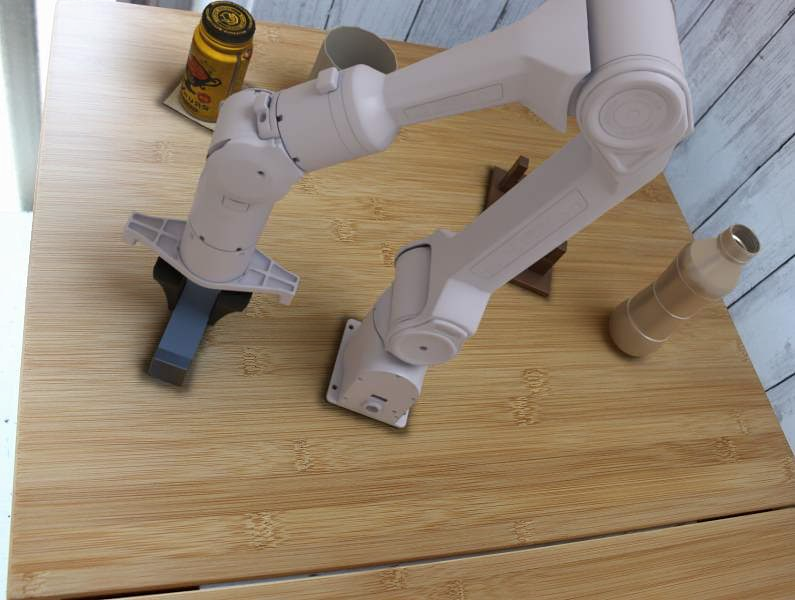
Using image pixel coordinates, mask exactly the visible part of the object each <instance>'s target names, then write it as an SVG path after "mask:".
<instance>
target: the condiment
mask: <svg viewBox="0 0 795 600" xmlns="http://www.w3.org/2000/svg"><path fill="white" fill-rule="evenodd" d="M198 22H199V23H198V24H197V25H196V26H195V28H194V31H193V34H192V35H193V36H192V39H191V43H190V45H189V46H190V47H189V51H188V56H187V61H186V63H185V64H186V65H185V67H184V72H183V77H182V80H181V81H180V83H179V84H178V85H177V86H176V87H175V89H174V90H173V91H172V92H171V93H170V94H169V95H168V97H167V98H166V99H165V100H164V101H163V102H162V103H163V104H164V105H167V106H168V107H170V108H172V109H173V110H175V111H177V112H178V113H180V114H181V115H183V116H185V117H187V118H188V119H190V120H192V121H194V122H196V123H198V124H200V125H202V126H203V127H205V128H207V129H209V130H212V131H214V129H215V125H216V122H217V119H218V115H219V104H220V102H221V101H225V100H226V99H227V98H228V97H229V96H231V95H233V94H235V93H237V92H240V91H242V90H245V89H250V88H251V87H249V86H248V85H245V84H244V82H245V78H246V75H247V72H248V69H249V65H250V62H251V59H252V56H253V54H254V53H253V52H254V42H253V41H254V35H255V33H256V30H257V27H256V20H255V19H254V17H253V15H252V14H251V13H250V11H249V10H247V9H246V8H245V7H243V6H242V5H240V4H238V3H236V2H233V1H229V0H214V1H211V2H209V3H208V4H207V5H205V7H204V8H203V10H202V13H201V18H200V20H199V21H198Z"/></svg>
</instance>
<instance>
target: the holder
mask: <svg viewBox="0 0 795 600" xmlns="http://www.w3.org/2000/svg"><path fill="white" fill-rule="evenodd" d="M529 163H530V158H529V157H526V156H524V155H522V154H521V155H519V157H517V159H516V160H515V162H514V163H513V164H512V166H511V168H509V169H508V170H505V169H503V168H502V167H498V166H497V165H494V166H493V168H492V170H491V177H490V182H489V188H488V193H487V200H486V205H485V210H486V209H488V208H489V207H490V206H491V205H492V204H494V203H495V202H496V201H497V200H498V199H500V198H501V197H502V196H503V195H504V194H506V193H507V192H508V191H509V190H511V189H512V188H513V187H514V186H515V185H517V184H518V183H519V182H520V181H521V180H523V179H524V178H525V177H526V176H527V175H528V174H526V171H528V169H529ZM567 250H568V240H566V241H565V242H563V243H562V244H560V245H559V246H558V247H556V248H555V249H553V250H552V251H551V252H549V253H548V254H546V255H545V256H543V257H542V258H541V259H539V260H538V261H536V262H535V263H534V264H532V265H531V266H529V267H528V268H527V269H525V270H524V271H522V272H521V273H519V274H518V275H517V276H515V277H514V278H512V279H511V280H510V281H508V282H509V283H511V284H514V285H516V286H518V287H520V288H523V289H525V290H528V291H531V292H533V293H534V294H538V295H539V296H542V297H545V298H547V297H548V296H549V295H550V294H551V285H552V274H553V266H555V264H556V263H557V262H558V261H559V260H560V259H561V258H562V257H563V256H564V255H565V254H566V253H567Z"/></svg>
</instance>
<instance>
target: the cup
mask: <svg viewBox="0 0 795 600" xmlns="http://www.w3.org/2000/svg"><path fill="white" fill-rule="evenodd" d="M358 64H364V65H367V66H369V67H371V68H373V69H375V70H377V71H379V72H381V73H384V74H386V75H387V74H389V73H392V72H394V71H397V70H399V67H398V66H399V64H398V58H397V54H396V53H395V51H394V50H393V49H392V47H391V46H390V44H389V43H388V42H386V41H385V40H384V39H383V38H382V37H380V36H378V34H376V33H375V32H372V31H370V30H367V29H366V28H362V27H360V26H353V25H340V26H337V27H335V28H332V29H329V31H328V33H327V34H326V35H325V37H324V39H323V41H322V44H321V46H320V49H319V51H318V54H317V56H316V59H315V61H314V64H313V66H312V69H311V71H310V72H309V73H310V74H309V76H308V78H307V80H306V82H308V81H311V80H314V79H317V77H318V73H319V72H320V71H322V70H325V69H328V68H331V67H335V68H336V69H337V70H338V71H340V70H343V69H346V68H349V67H352V66H355V65H358Z"/></svg>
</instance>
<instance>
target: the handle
mask: <svg viewBox="0 0 795 600" xmlns="http://www.w3.org/2000/svg"><path fill="white" fill-rule="evenodd" d="M220 291H221V290H220V289H210V288H206V287H203V286H200V285H198V284H196V283H194V282H193V281H191V280H190V279H188V278H187V281H186V284H185V287H184V289H183V291H182V293H181V296H180V298H179V300H178V303H177V305H176V307H175V309H174V312H173V311H172V314H171V316H170V319H169V320H168V323H167V324H166V325H167V326H166V328H165V330H164V332H163V335H162V337H161V340H160V341H159V344H158V346H157V347H156V349H155V351H154V354H153V356H152V359H151V361H150V365H149V369H148V372H147V375H148V376H151V377H153V378H156V379H159V380H162V381H164V382H167V383H170V384H172V385H176V386H178V387H183V386H184V384H185V380H186V378H187V375H188V373H189V370H190V368H191V365H192V363H193V359H194V356H195V355H196V351H197V349H198V347H199V344H200V341H201V339H202V337H203V334H204V332H205V329H206V327H207V325H208V324H207V322H208V319H209V317H210V314H211V312H212V309H213V307H214V304H215V302H216V299H217V297H218V294H219V293H220Z"/></svg>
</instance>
